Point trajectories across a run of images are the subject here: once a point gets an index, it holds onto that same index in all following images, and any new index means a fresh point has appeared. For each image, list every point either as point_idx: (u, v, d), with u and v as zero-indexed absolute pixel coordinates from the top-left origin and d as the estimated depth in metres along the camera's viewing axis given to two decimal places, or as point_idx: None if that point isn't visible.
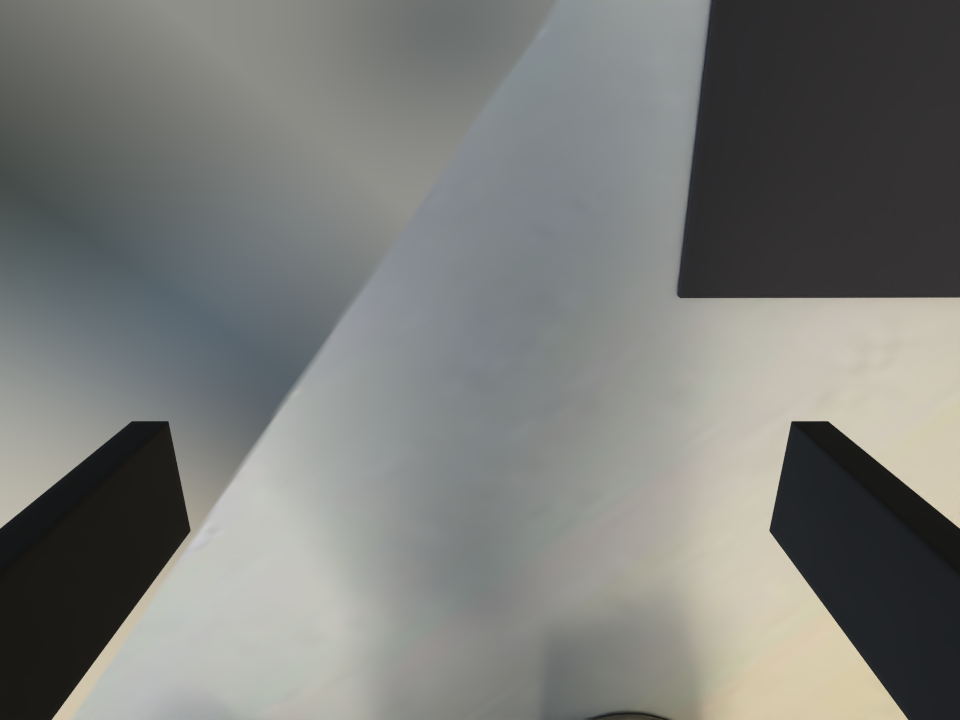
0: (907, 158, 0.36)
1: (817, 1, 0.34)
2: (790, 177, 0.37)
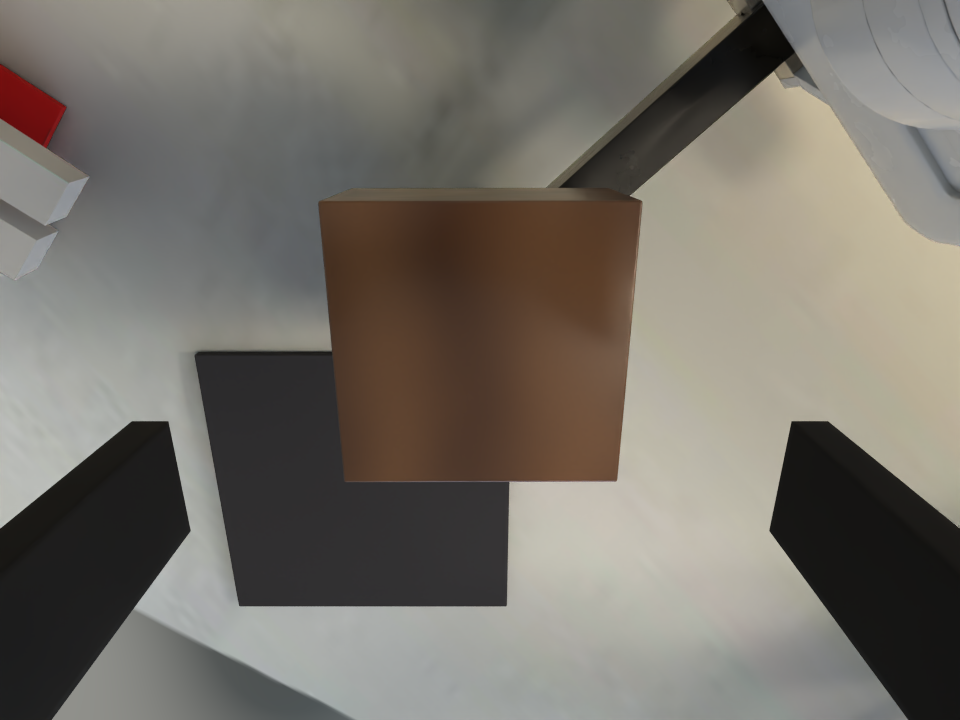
0: None
1: (267, 542, 0.42)
2: (400, 540, 0.42)
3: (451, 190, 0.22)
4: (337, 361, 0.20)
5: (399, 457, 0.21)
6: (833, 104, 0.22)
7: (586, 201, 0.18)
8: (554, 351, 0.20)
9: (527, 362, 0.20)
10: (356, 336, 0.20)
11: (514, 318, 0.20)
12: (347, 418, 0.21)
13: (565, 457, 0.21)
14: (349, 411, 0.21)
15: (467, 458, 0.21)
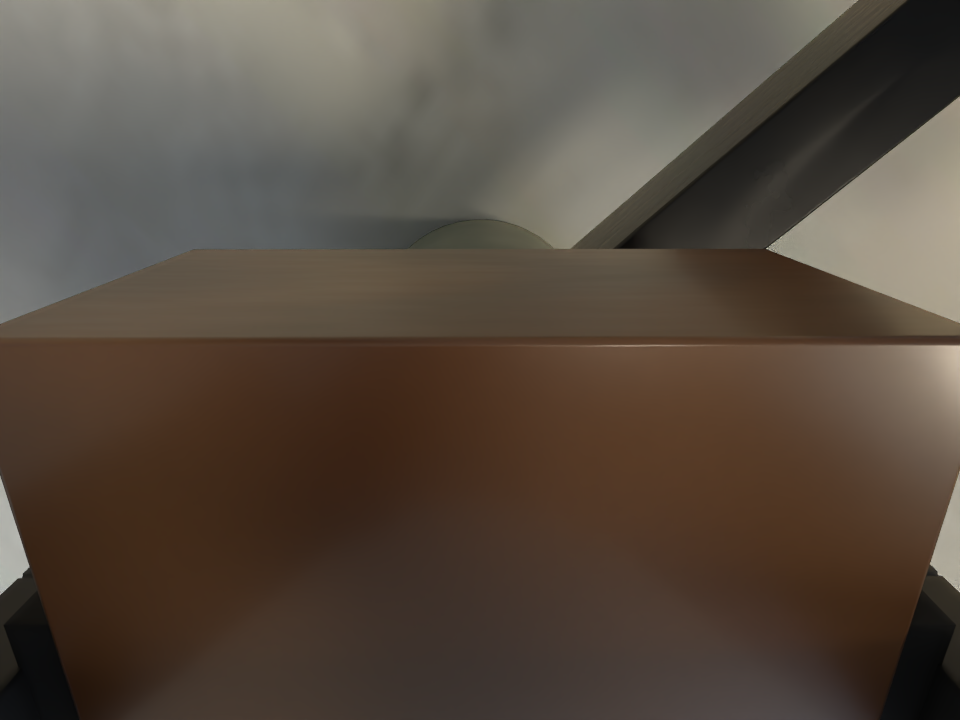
0: None
1: None
2: None
3: (411, 261, 0.09)
4: None
5: None
6: None
7: (820, 340, 0.06)
8: (680, 716, 0.07)
9: None
10: (135, 685, 0.07)
11: (577, 643, 0.07)
12: None
13: None
14: None
15: None
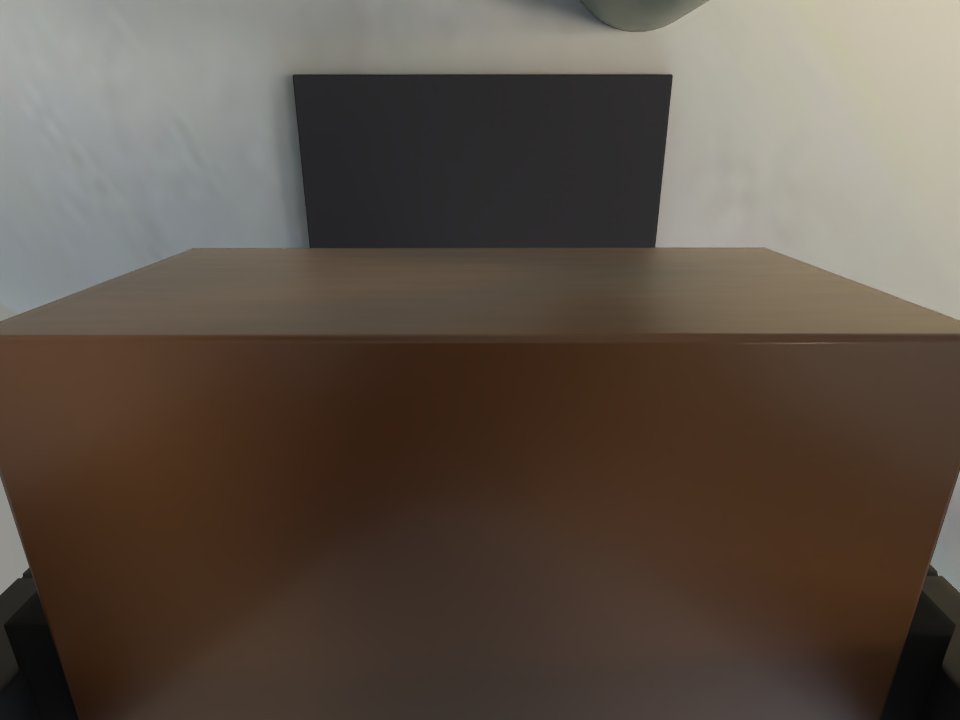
0: (503, 212, 0.34)
1: None
2: None
3: (411, 260, 0.09)
4: None
5: None
6: None
7: (821, 337, 0.06)
8: (680, 715, 0.07)
9: None
10: (135, 684, 0.07)
11: (577, 642, 0.07)
12: None
13: None
14: None
15: None
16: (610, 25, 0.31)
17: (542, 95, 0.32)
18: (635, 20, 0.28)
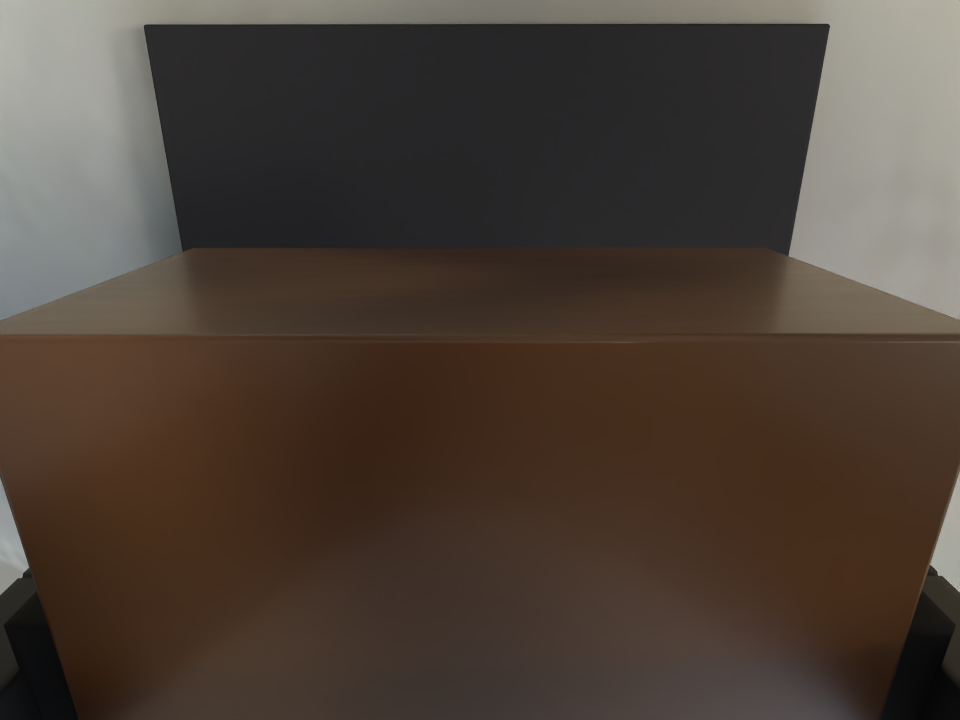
0: None
1: None
2: None
3: (411, 260, 0.09)
4: None
5: None
6: None
7: (822, 337, 0.06)
8: (681, 716, 0.07)
9: None
10: (135, 684, 0.07)
11: (577, 641, 0.07)
12: None
13: None
14: None
15: None
16: None
17: (593, 63, 0.18)
18: None
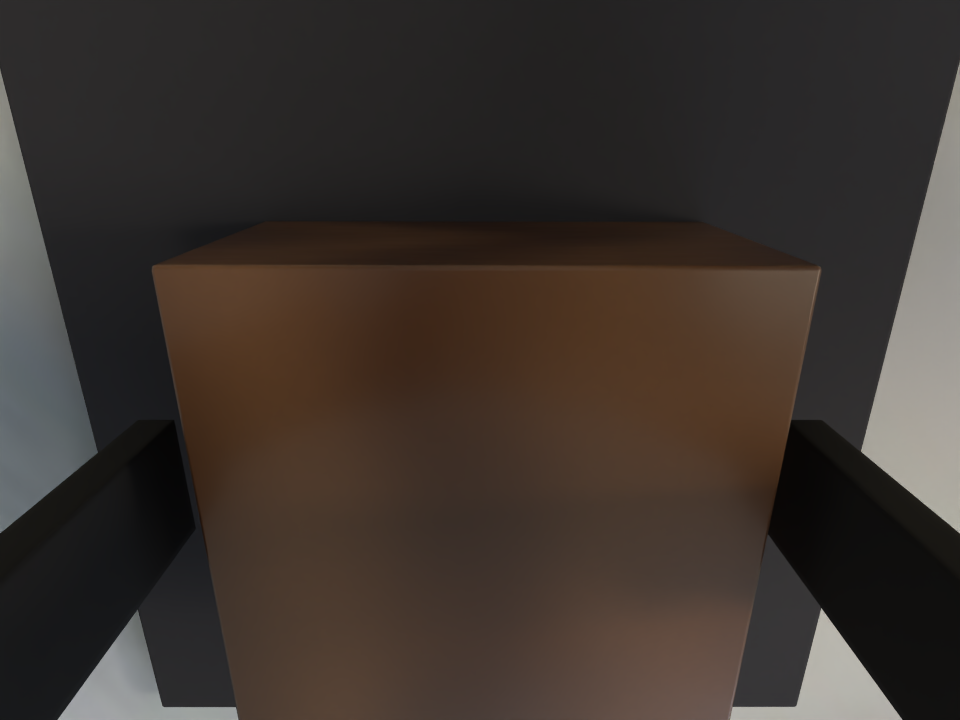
0: None
1: None
2: None
3: (433, 228, 0.12)
4: (215, 558, 0.11)
5: (339, 709, 0.12)
6: None
7: (706, 267, 0.09)
8: (625, 542, 0.11)
9: (574, 560, 0.11)
10: (246, 516, 0.10)
11: (552, 484, 0.10)
12: (239, 649, 0.11)
13: (636, 710, 0.12)
14: (244, 638, 0.11)
15: (460, 710, 0.12)
16: None
17: (636, 25, 0.12)
18: None
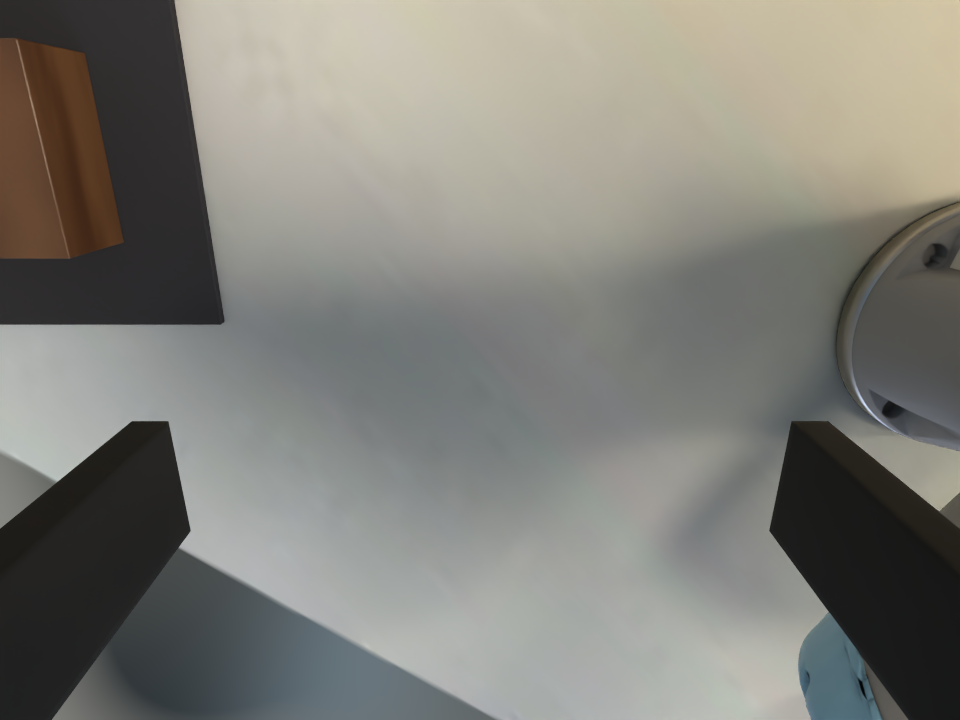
0: None
1: None
2: None
3: None
4: None
5: None
6: None
7: None
8: None
9: None
10: None
11: None
12: None
13: (26, 238, 0.30)
14: None
15: None
16: None
17: None
18: None
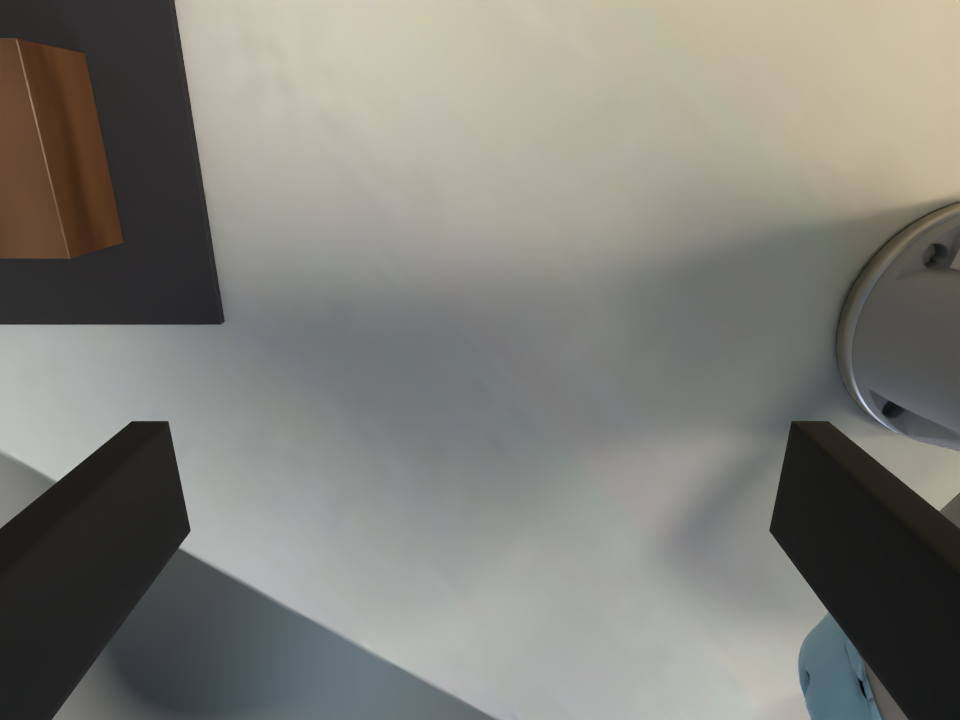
0: None
1: None
2: None
3: None
4: None
5: None
6: None
7: None
8: None
9: None
10: None
11: None
12: None
13: (26, 238, 0.30)
14: None
15: None
16: None
17: None
18: None
